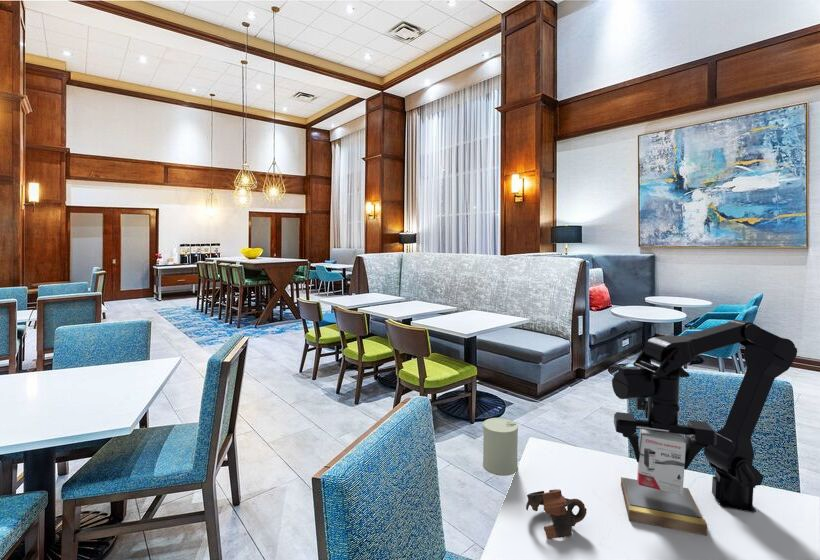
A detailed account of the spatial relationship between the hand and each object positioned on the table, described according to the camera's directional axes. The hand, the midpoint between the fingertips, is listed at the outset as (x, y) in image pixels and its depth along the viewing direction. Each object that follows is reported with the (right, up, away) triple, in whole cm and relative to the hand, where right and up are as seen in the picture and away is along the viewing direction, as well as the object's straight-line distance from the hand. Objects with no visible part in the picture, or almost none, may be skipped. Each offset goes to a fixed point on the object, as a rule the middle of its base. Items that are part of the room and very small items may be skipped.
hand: (660, 464), depth 92 cm
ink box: (0, -5, 0) cm, 5 cm away
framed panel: (0, -10, +1) cm, 10 cm away
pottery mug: (-25, -11, -4) cm, 28 cm away
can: (-32, -9, +19) cm, 38 cm away
